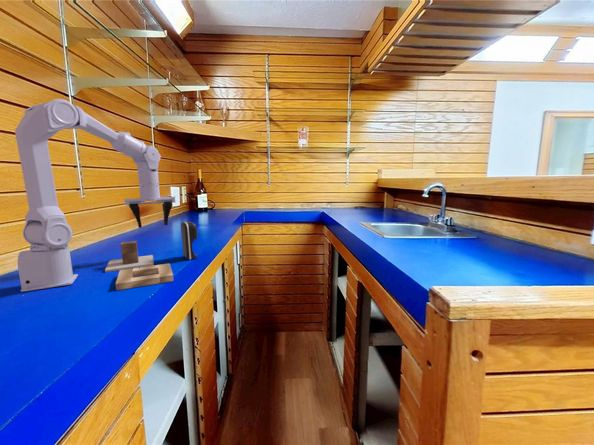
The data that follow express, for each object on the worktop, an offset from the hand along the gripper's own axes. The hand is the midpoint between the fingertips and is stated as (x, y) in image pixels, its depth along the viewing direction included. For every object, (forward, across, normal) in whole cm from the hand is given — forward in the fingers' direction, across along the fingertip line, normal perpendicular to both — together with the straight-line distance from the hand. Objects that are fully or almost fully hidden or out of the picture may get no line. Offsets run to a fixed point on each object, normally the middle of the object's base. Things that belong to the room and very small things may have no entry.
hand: (153, 226), depth 97 cm
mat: (+10, -8, -6) cm, 14 cm away
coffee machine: (+10, +9, -10) cm, 17 cm away
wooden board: (+10, -6, -24) cm, 27 cm away
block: (+9, -8, -7) cm, 14 cm away
